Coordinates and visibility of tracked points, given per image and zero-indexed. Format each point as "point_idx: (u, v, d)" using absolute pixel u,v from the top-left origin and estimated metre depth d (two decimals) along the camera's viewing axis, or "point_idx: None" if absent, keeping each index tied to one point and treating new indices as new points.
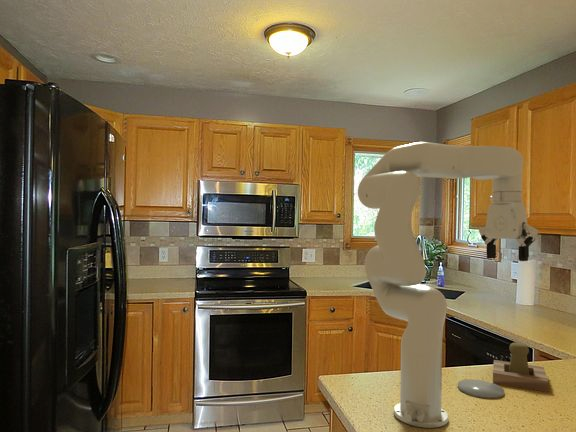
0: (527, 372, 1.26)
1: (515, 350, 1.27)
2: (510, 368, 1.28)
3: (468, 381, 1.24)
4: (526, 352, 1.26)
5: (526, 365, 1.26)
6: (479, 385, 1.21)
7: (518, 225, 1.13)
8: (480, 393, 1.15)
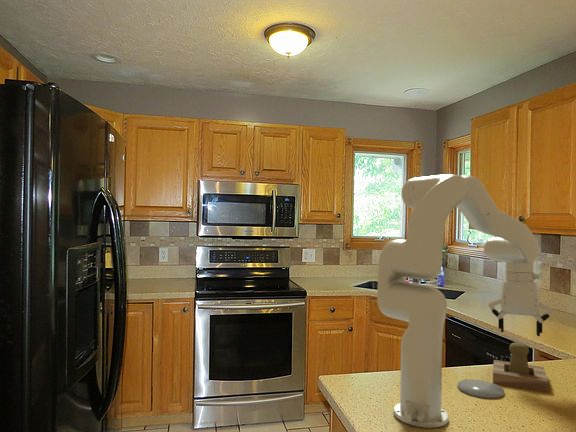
0: (527, 372, 1.26)
1: (515, 350, 1.27)
2: (510, 368, 1.28)
3: (468, 381, 1.24)
4: (526, 352, 1.26)
5: (526, 365, 1.26)
6: (479, 385, 1.21)
7: None
8: (480, 393, 1.15)
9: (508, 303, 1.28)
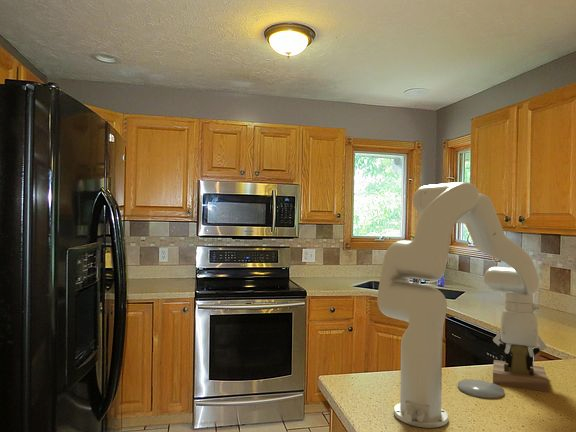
0: (527, 372, 1.26)
1: (515, 350, 1.27)
2: (510, 368, 1.28)
3: (468, 381, 1.24)
4: (526, 352, 1.26)
5: (526, 365, 1.26)
6: (479, 385, 1.21)
7: None
8: (480, 393, 1.15)
9: (507, 333, 1.28)
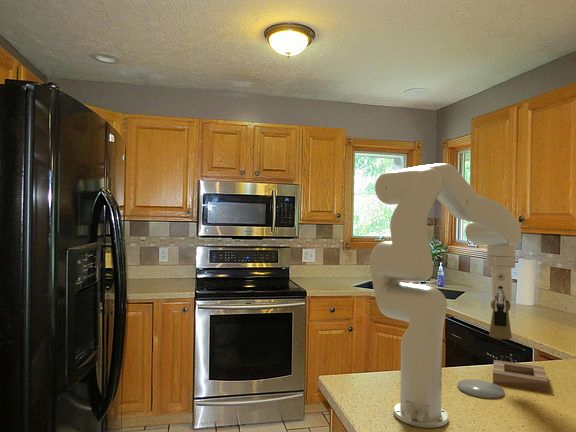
0: (495, 327, 1.23)
1: None
2: None
3: (468, 381, 1.24)
4: (494, 306, 1.24)
5: None
6: (479, 385, 1.21)
7: None
8: (480, 393, 1.15)
9: None
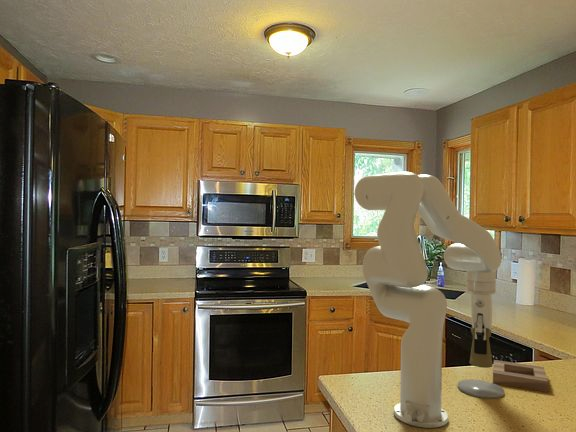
0: (475, 355, 1.19)
1: None
2: None
3: (468, 381, 1.24)
4: (474, 333, 1.19)
5: None
6: (479, 385, 1.21)
7: None
8: (480, 393, 1.15)
9: None
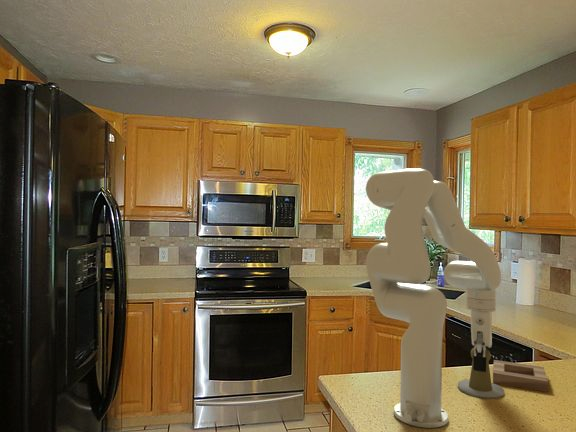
0: (474, 378, 1.18)
1: None
2: None
3: (468, 381, 1.24)
4: None
5: None
6: None
7: None
8: (480, 393, 1.15)
9: None
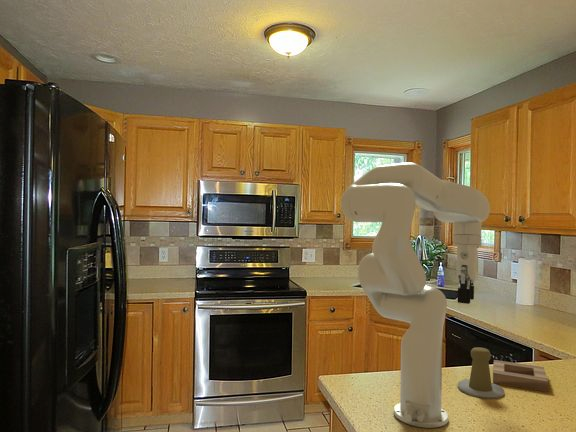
0: (474, 378, 1.18)
1: None
2: None
3: (468, 381, 1.24)
4: (473, 356, 1.18)
5: (475, 370, 1.18)
6: None
7: None
8: (480, 393, 1.15)
9: None
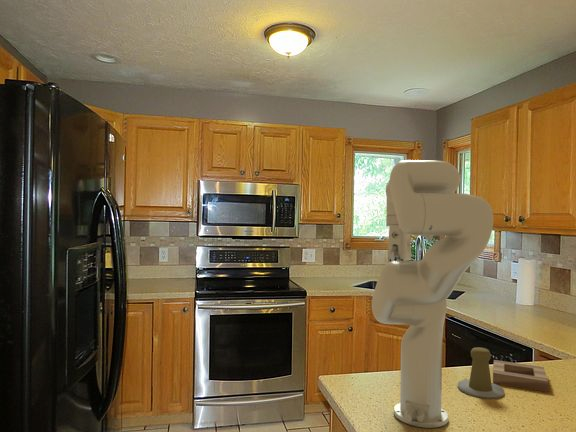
0: (474, 378, 1.18)
1: None
2: None
3: (468, 381, 1.24)
4: (473, 356, 1.18)
5: (475, 370, 1.18)
6: None
7: None
8: (480, 393, 1.15)
9: None
